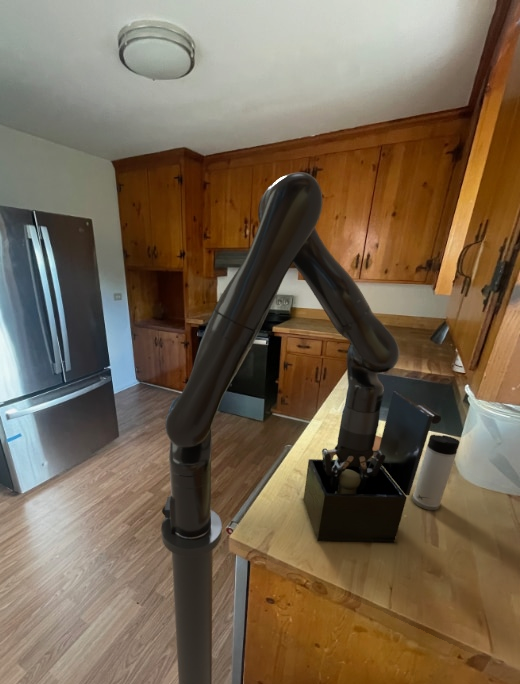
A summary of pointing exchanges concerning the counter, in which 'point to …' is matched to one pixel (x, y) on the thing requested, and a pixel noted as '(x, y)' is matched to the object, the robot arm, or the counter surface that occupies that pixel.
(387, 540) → the black open box
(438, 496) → the travel mug
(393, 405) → the lid
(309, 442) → the counter surface
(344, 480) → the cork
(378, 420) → the robot arm
